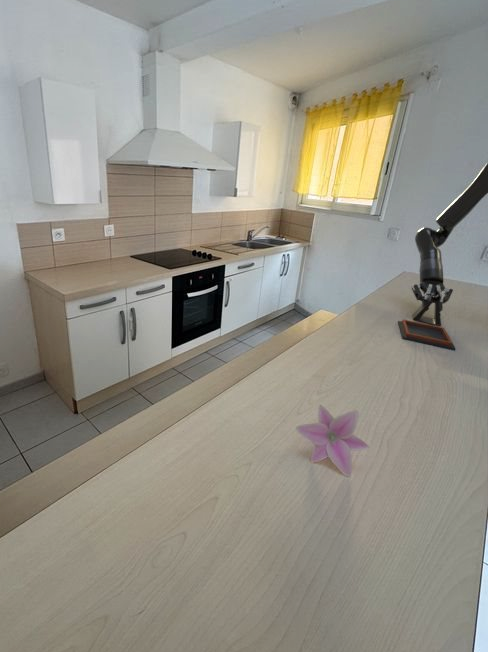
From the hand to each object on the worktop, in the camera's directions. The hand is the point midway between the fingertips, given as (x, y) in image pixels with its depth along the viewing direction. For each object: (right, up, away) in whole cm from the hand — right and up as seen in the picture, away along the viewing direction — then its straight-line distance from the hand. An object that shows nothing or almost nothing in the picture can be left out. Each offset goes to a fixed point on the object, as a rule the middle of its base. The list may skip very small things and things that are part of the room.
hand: (432, 310), depth 124 cm
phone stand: (0, -4, +4) cm, 6 cm away
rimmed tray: (-9, -9, -8) cm, 15 cm away
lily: (-66, -27, -60) cm, 93 cm away
